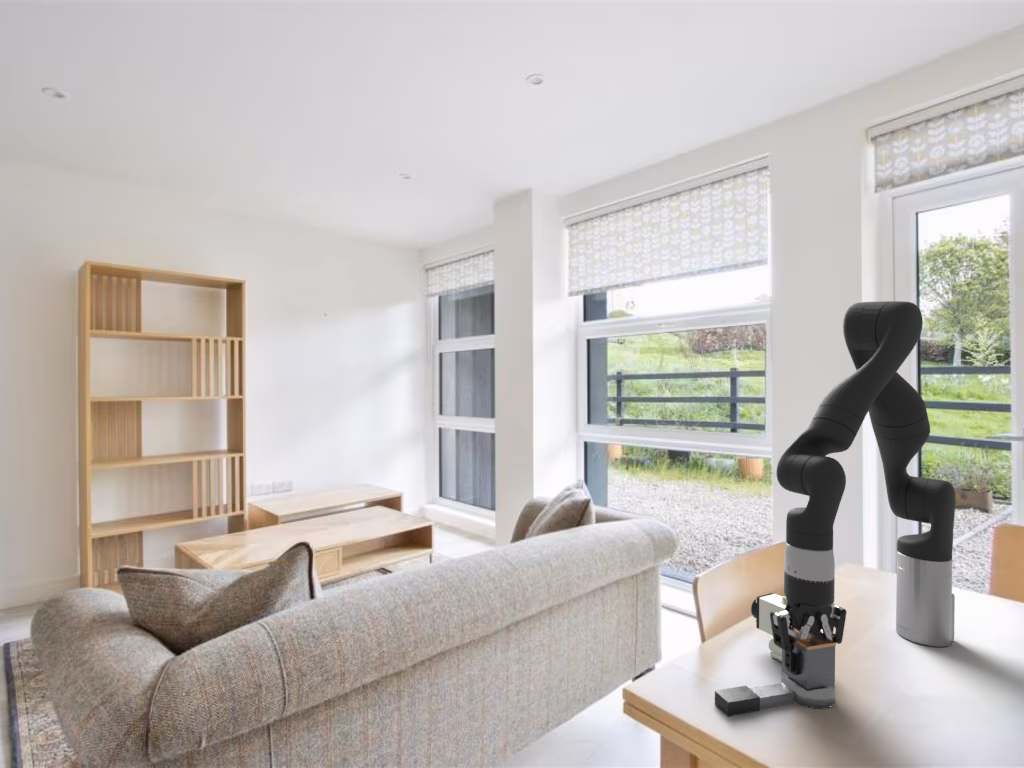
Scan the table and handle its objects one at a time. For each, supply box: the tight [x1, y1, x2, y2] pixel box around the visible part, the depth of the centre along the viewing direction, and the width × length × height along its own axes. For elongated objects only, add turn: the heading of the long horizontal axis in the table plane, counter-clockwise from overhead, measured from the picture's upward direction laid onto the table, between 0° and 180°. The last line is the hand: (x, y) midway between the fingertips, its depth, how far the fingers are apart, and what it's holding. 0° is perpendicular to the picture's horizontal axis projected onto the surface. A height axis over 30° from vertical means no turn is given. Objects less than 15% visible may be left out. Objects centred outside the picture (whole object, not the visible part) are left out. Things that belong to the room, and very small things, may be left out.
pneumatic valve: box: [750, 592, 795, 663], centre depth 104 cm, size 6×12×12 cm, turn 27°
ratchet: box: [714, 671, 836, 717], centre depth 91 cm, size 21×8×6 cm, turn 105°
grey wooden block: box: [781, 629, 837, 689], centre depth 92 cm, size 6×6×7 cm
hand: (807, 669), depth 92 cm, fingers closed on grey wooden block, 5 cm apart
